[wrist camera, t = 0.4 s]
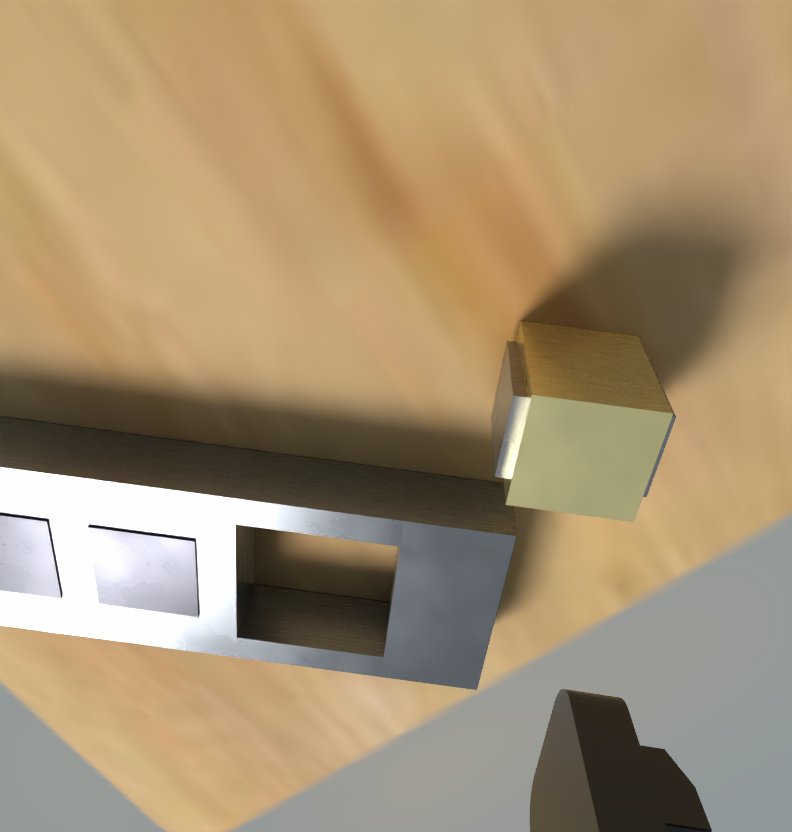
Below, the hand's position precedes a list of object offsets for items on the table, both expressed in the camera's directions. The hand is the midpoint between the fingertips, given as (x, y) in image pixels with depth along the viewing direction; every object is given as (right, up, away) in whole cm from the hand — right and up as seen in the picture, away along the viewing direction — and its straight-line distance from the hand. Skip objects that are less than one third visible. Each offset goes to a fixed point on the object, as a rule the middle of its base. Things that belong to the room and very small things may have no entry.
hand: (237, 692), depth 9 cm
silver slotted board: (-5, -1, +22) cm, 22 cm away
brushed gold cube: (+8, +5, +17) cm, 19 cm away
